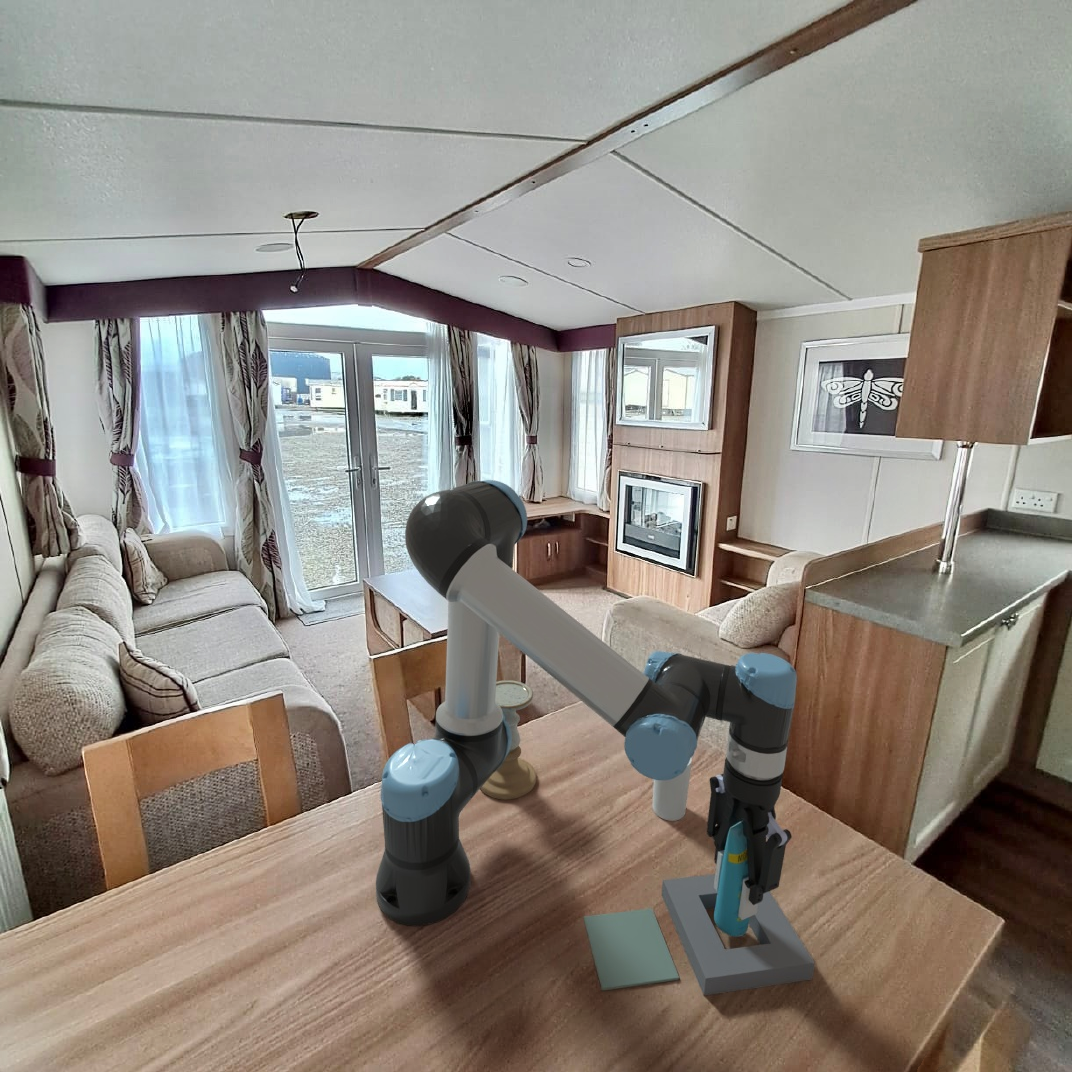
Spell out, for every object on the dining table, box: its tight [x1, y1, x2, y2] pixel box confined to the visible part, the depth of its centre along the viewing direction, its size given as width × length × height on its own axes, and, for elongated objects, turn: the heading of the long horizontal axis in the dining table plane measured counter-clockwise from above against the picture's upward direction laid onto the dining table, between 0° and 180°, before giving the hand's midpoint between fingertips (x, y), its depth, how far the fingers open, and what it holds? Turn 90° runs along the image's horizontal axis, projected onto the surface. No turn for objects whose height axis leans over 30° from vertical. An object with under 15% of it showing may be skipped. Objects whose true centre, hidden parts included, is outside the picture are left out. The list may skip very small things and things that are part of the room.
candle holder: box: [479, 679, 537, 801], centre depth 117 cm, size 12×12×20 cm
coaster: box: [583, 908, 680, 991], centre depth 85 cm, size 11×11×1 cm
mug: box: [651, 756, 693, 822], centre depth 112 cm, size 10×7×12 cm, turn 20°
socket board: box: [661, 873, 816, 996], centre depth 87 cm, size 16×16×3 cm
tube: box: [713, 820, 749, 937], centre depth 84 cm, size 7×5×19 cm, turn 131°
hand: (734, 899), depth 85 cm, fingers closed on tube, 5 cm apart
